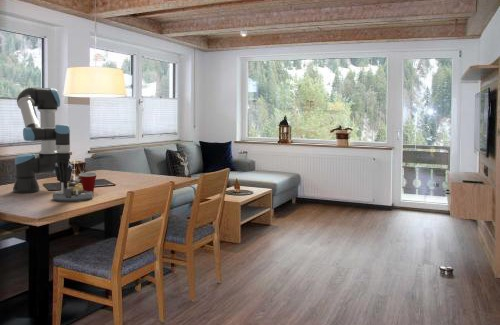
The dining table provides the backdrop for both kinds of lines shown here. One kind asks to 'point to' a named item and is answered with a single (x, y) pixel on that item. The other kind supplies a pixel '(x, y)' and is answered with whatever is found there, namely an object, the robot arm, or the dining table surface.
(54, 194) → the base plate
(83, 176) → the plastic cup
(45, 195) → the dining table surface
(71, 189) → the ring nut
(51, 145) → the robot arm
